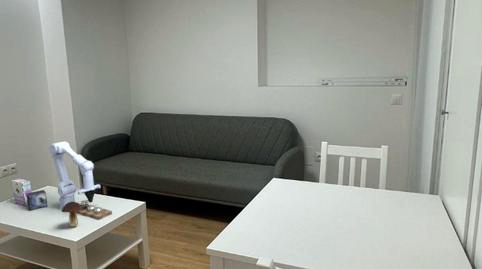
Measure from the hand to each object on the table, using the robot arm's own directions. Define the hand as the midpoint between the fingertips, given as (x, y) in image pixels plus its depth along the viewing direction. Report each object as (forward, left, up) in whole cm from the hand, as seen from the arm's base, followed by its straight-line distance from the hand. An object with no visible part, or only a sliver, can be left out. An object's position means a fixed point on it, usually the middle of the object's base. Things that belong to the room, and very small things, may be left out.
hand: (90, 202), depth 220 cm
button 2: (+7, 0, -7) cm, 10 cm away
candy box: (-58, -11, -8) cm, 60 cm away
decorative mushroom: (+9, -18, -8) cm, 21 cm away
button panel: (0, 0, -7) cm, 7 cm away
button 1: (-6, 0, -5) cm, 8 cm away
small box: (-41, -11, -8) cm, 44 cm away
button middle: (0, 0, -7) cm, 7 cm away
